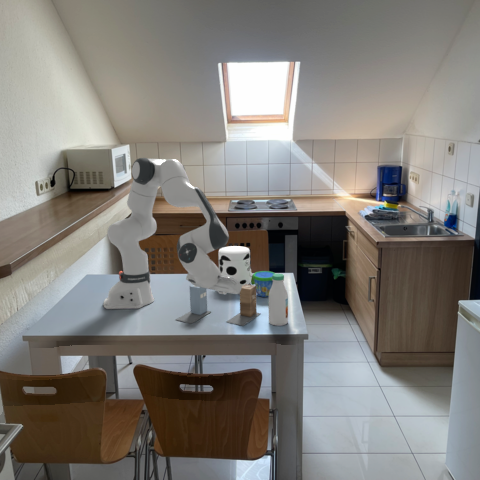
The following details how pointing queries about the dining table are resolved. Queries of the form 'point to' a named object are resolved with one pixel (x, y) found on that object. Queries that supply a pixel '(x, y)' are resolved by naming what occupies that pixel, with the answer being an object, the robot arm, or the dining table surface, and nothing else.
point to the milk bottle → (278, 301)
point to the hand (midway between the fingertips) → (223, 292)
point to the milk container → (235, 263)
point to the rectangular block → (198, 300)
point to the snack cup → (262, 282)
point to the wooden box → (248, 300)
